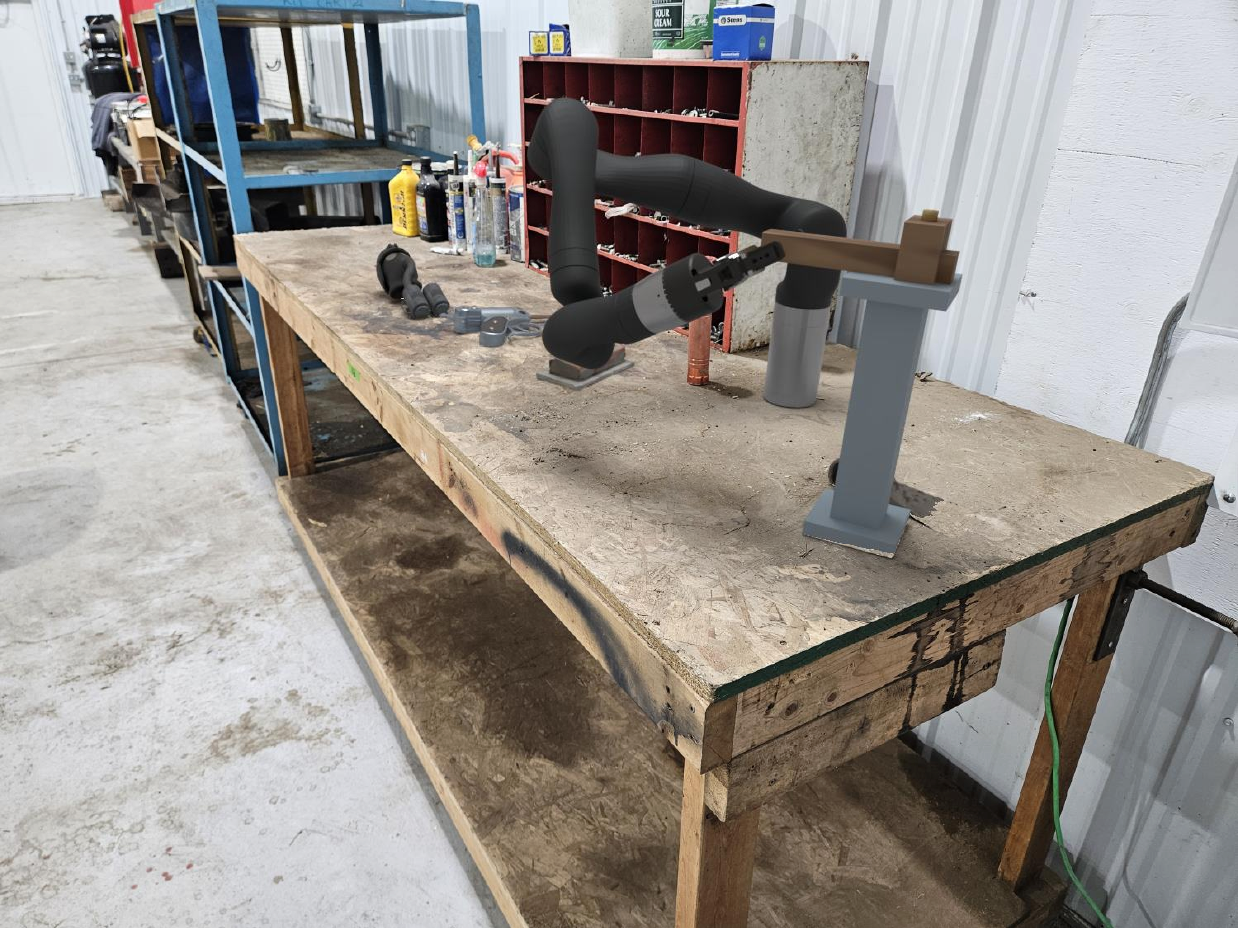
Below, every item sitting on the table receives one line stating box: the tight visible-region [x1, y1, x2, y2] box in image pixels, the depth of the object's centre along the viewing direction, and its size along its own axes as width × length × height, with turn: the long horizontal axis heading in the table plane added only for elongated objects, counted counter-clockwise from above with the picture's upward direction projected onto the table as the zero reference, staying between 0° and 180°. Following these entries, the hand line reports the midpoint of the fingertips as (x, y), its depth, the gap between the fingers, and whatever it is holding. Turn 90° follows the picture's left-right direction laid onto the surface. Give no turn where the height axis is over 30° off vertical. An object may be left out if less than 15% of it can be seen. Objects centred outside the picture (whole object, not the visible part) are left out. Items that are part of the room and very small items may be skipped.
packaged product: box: [535, 343, 636, 391], centre depth 151 cm, size 18×5×10 cm
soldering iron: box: [439, 305, 552, 348], centre depth 172 cm, size 6×28×16 cm
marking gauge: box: [760, 209, 961, 286], centre depth 89 cm, size 6×21×7 cm, turn 62°
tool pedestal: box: [801, 271, 963, 554], centre depth 95 cm, size 10×11×32 cm
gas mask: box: [375, 242, 451, 320], centre depth 188 cm, size 15×9×26 cm
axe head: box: [827, 457, 945, 518], centre depth 109 cm, size 20×5×10 cm
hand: (793, 242), depth 92 cm, fingers open, 8 cm apart
